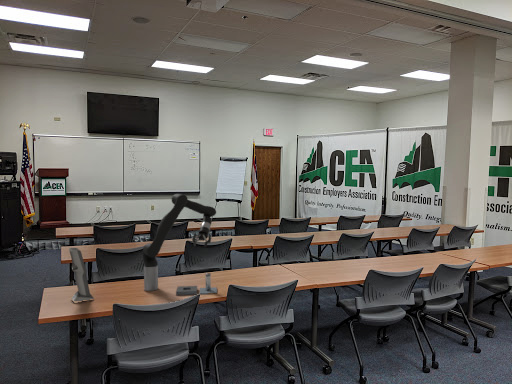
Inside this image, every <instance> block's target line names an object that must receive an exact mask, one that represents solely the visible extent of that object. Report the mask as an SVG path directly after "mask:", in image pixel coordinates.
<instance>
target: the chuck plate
mask: <svg viewBox="0 0 512 384" xmlns="http://www.w3.org/2000/svg"><path fill="white" fill-rule="evenodd" d="M196 294H197V295H198V285H187V286H186V285H183V286H179V285H178V286H177V288H176V291H175V296H195V295H196Z"/></svg>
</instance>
